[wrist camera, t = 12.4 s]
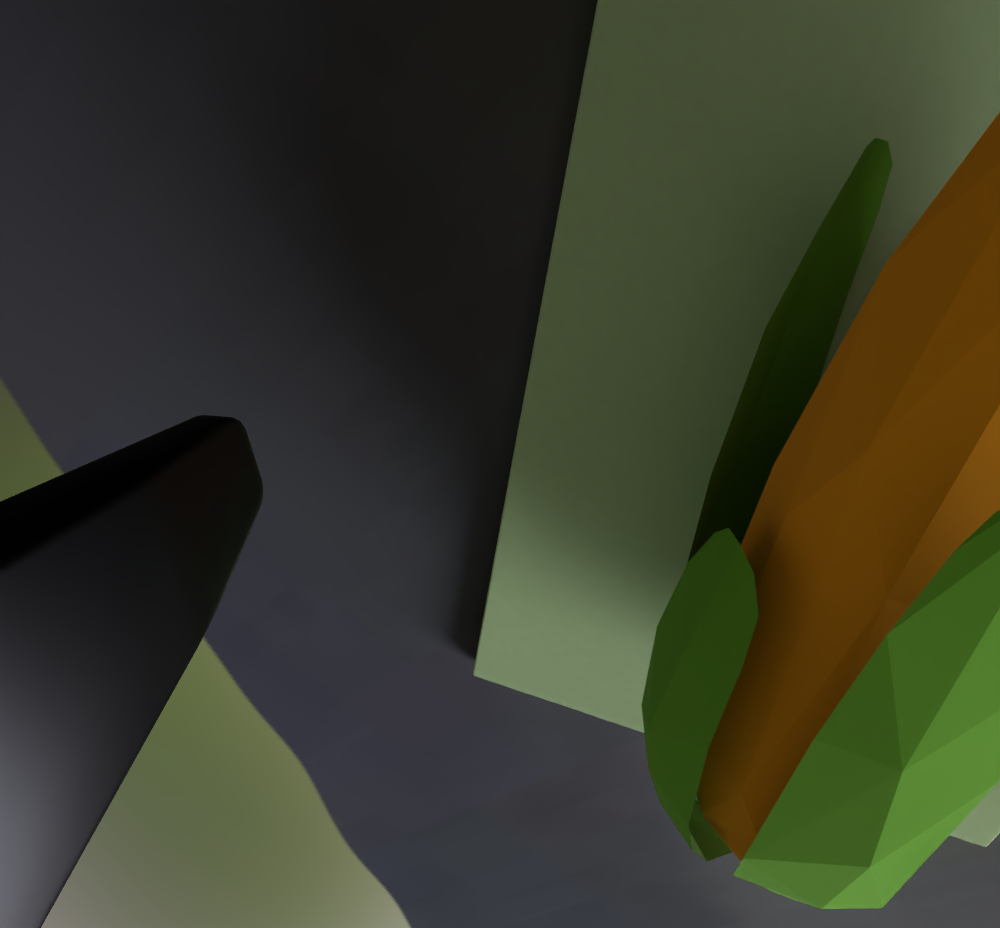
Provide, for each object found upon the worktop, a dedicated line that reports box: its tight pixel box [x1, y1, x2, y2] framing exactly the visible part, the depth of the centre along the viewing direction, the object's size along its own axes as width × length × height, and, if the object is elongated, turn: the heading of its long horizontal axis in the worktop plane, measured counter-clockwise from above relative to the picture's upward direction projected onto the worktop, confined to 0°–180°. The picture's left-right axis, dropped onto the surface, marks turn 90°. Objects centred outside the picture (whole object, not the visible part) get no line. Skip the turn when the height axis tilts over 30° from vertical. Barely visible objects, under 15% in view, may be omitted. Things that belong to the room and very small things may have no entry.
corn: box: [641, 112, 1000, 909], centre depth 17 cm, size 7×8×20 cm
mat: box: [473, 0, 1000, 847], centre depth 20 cm, size 16×24×1 cm, turn 173°
